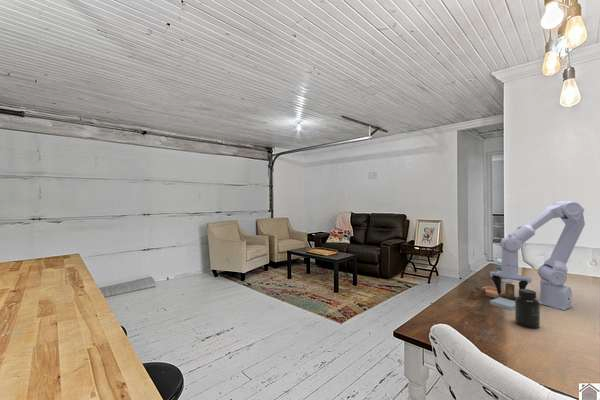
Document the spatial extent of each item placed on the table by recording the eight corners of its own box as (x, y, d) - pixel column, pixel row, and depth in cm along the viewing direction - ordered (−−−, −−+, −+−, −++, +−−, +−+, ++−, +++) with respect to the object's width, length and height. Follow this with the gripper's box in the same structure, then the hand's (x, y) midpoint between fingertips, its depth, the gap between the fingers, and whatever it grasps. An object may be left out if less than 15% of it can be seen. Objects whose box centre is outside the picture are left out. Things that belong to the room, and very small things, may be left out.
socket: (523, 301, 123) (523, 298, 123) (514, 304, 120) (514, 301, 120) (505, 296, 129) (505, 293, 129) (496, 299, 126) (496, 296, 126)
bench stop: (485, 296, 129) (485, 286, 129) (475, 299, 126) (475, 289, 125) (480, 295, 131) (480, 285, 131) (470, 298, 127) (470, 288, 127)
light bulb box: (512, 283, 149) (512, 262, 148) (496, 281, 153) (496, 261, 152) (512, 278, 157) (512, 259, 157) (497, 276, 161) (497, 257, 161)
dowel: (515, 300, 124) (515, 284, 124) (512, 302, 122) (512, 286, 122) (507, 298, 127) (507, 282, 126) (503, 299, 125) (503, 284, 125)
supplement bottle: (537, 322, 102) (537, 289, 102) (541, 330, 96) (541, 295, 96) (513, 318, 106) (513, 286, 106) (516, 326, 100) (516, 292, 100)
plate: (521, 307, 117) (521, 303, 117) (511, 311, 113) (511, 306, 113) (499, 301, 124) (499, 297, 124) (489, 305, 120) (489, 300, 120)
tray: (508, 295, 131) (508, 291, 131) (498, 299, 126) (498, 294, 126) (487, 289, 139) (487, 286, 139) (476, 292, 134) (476, 289, 134)
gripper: (532, 266, 121) (532, 297, 122) (493, 260, 132) (493, 289, 132) (529, 269, 117) (529, 301, 117) (488, 262, 128) (488, 292, 128)
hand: (509, 295), depth 124 cm, fingers open, 7 cm apart
